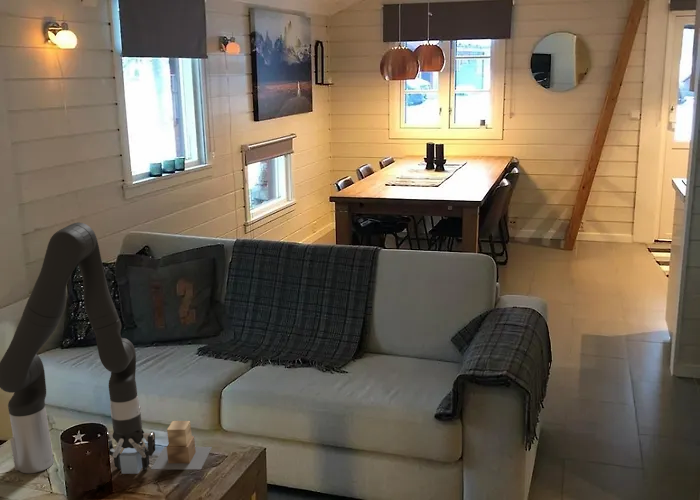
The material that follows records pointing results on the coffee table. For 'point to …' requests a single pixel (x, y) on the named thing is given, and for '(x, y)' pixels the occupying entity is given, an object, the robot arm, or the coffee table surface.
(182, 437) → the oak top block
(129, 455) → the light grey box block
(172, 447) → the walnut base block
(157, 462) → the felt mat
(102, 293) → the robot arm
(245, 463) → the coffee table surface
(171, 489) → the coffee table surface
